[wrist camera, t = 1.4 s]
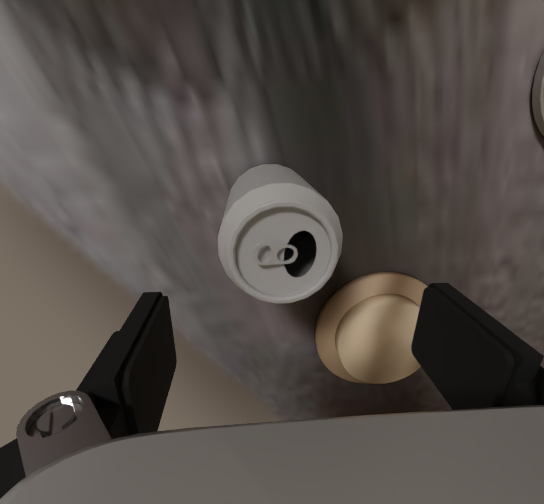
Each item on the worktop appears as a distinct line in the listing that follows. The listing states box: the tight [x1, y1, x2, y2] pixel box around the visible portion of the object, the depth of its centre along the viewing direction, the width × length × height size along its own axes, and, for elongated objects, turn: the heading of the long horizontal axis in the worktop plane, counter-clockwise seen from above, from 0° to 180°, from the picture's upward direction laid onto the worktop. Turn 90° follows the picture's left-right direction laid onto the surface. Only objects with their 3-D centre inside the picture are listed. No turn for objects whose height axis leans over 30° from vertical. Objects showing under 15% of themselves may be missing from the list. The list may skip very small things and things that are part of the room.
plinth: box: [314, 272, 428, 384], centre depth 32 cm, size 14×14×3 cm
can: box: [218, 164, 343, 304], centre depth 22 cm, size 8×8×12 cm
